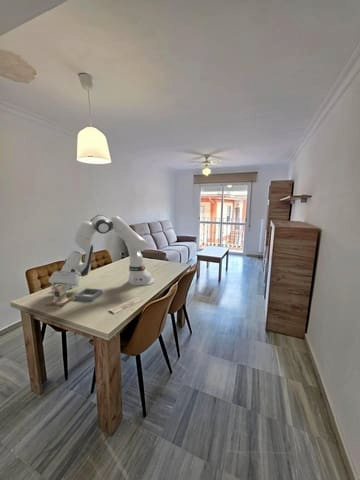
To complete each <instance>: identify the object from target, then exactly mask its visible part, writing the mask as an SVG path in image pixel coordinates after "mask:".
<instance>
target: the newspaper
mask: <svg viewBox="0 0 360 480" xmlns="http://www.w3.org/2000/svg"><path fill="white" fill-rule="evenodd" d="M142 301H143V299H142V297H138V296H137V297H133V298H132V299H130V300H128V301H125V302H124V303H122V304H119V305H117V306H115V307H113V308H110V309H109V310H108V312H112V313H113V314H114V315H116V314H118V313H119V311H120V312H121V310H122V311H124V310H126V309H128V308H129V306H130V307H132V306H134V305H136V304H138V303H139V302H142ZM133 304H134V305H133ZM117 312H118V313H117ZM115 313H116V314H115Z"/></svg>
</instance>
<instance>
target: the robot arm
mask: <svg viewBox="0 0 360 480" xmlns="http://www.w3.org/2000/svg"><path fill="white" fill-rule="evenodd" d="M110 231H113V232H115V234H117V235H118V237H119V238H121V239H122V240H123V241H124V242H125V245H126V247H127V252H128V256H129V265H128V270H129V271H128V272H129V275H128V280H127V281H128V283H129V284H130V285H133V286H136V285H137V286H138V285H140V286H145V285H146V286H148V285H149V286H150V285H152V284H153V283H154V281H155V278H154V277H152V274H151V272H150V271H148V270H147V269H146V265H144V264H143V263H144V262H143V261H144V258H143V254H142V252H144V251H146V250H147V248H148V241H147V240H146V239H144V238H143V237H142V236H141V235H139V234H138V233H137V232H136V231H134V230H133V228H131V227H130V226H129V224H127V222H126V221H125V220H124V219H122V218H121V217H119V216H118V215H113V216H111V217H109V218H107V216H105V215H103V214H97V215H95V216H94V217H93V218H91V220H90V221H89V220H84V221H82V222H81V224H80V225H79V227H78V228H77V231H76V233H75V236H74V242H75V244H76V245H77V246H78V248H80V249H82V250H83V251H84V252H85V260H84V262H82V257H83V254H82V253H81V252H79V251H76V250H72V251H71V252H70V254H68V256H67V258H66V259H65V260H64V262H63V263H62V268H61V269H60V270H55V271H53V273H52V274H51V276H50V277H48V283H49V284H51V288H50V289H51V290H52V291H53V287H55V286H57V285H68V286H67V287H66V288H65V289H64V291H66V292H68V291H69V290H70V289H71V288H70V287H71V286H72V285H73V286H76V285H77V284H78V282H80V279H81V277H86V276H88V275H89V273H90V270H91V262H92V258H93V252H94V245H93V244H92V240H93V236H94V234H95V233H96V232H97V233H99V234H102V235H103V234H107V233H109V232H110ZM76 287H77V286H76Z"/></svg>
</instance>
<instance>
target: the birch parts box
mask: <svg viewBox="0 0 360 480" xmlns="http://www.w3.org/2000/svg"><path fill="white" fill-rule="evenodd" d="M65 288H66V286H65V285H62V284H56V285H55V287H53V290H52V291H53V299H54V302H62V301H64V300H65V299H66V297H67V291H64V289H65Z"/></svg>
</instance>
